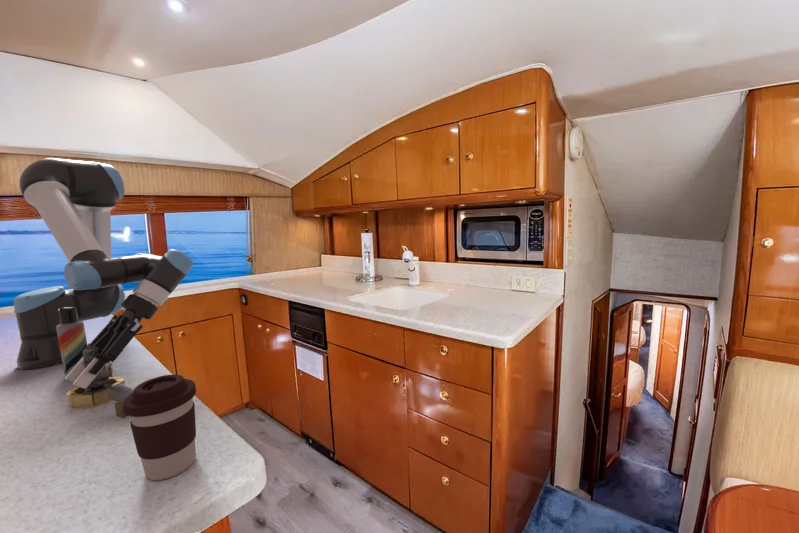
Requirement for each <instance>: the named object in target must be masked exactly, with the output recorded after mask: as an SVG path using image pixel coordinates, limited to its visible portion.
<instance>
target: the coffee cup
mask: <svg viewBox="0 0 799 533" xmlns="http://www.w3.org/2000/svg"><path fill="white" fill-rule="evenodd" d="M133 389H134V391H133V393H132V394H130V395H129V396H127V397H126V398H125V400H124V401H123V410H124V413H125V414H126V415H128V416H127V417H129V418H130V421H129V426H130V428H131V433H132V437H133V440H134V444H135V447H136V452H137V456H138V457H139V458H140V461H141V465H142V469H143V472H144V475H145V477H146V478H147V479H149V480H152V481H162V480H163V481H164V480H166V479H171V478H174V477H176V476H178V475H180V474H181V473H183V472H185V471H186V470H187V469H188V468H190V466H191V465H193V463H194V461H195V460H196V455H197V454H196V451H197V450H196V435H197V429H196V428H197V427H196V425H197V424H196V411H195V410H196V407H195V406H196V405H195V402H194V397H195V395H196V393H197V388H196V383H195V381H193V380H191V379H187V378H184V376H183V375H182V374H164V375H159V376H156V377H153V378H149V379H148V380H145V381H143V382H141V383H139V384H138V385H136V386H135V387H134V388H133Z"/></svg>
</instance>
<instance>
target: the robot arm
mask: <svg viewBox="0 0 799 533" xmlns="http://www.w3.org/2000/svg"><path fill="white" fill-rule="evenodd" d="M18 182H19V189H20V193H21V194H22V197H23V198H24V200H25V202H27V203H28V204H30V205H32V206H33V207H35V208H36V210H37V212H38V213H39V215H40V217H41V219H42V220H43V221H44V223H45V225H46V227H47V228H48V230H49V231H50V233H51V234H52V236H53V239H55V241H56V243H57V244H58V246H59V248H60V249H61V251H62V253H63V255H64V256H65V257H66V259H67V261H68V263H66V264H65V266H64V269H63V272H64V273H63V274H64V278H65V282H66V284H67V286H68V287H69V288H65V287H64V286H62V285H54V286H50V287H44V288H39V289H38V288H37V289H34V290H29V291H27V292H24V293H21V294H18V295H17V296H16V297H15V298H14V299H13V306H14V307H13V308H14V313H15V316H16V322H17V328H18V331H19V337H20V347H19V351H18V354H17V358H16V365H17V366H16V367H17V369H19V370H35V369H41V368H46V367H52V366H55V365H59V364H63V362H62V357H61V351H60V346H59V340H58V335H57V329H56V326H57V325H59V324H60V319H59V313H58V310H59V308H64V307H75V308H77V314H78V320H79V321H83V322H84V321H90V320H95V319H98V318H105V317H108V316H110V315H113V316H112V317H111V319H110V320H109V321H108V323H107V324H106V325H105V326H104V327H103V328H102V329H101V331H100V332H99V333H98V334H97V335H96V337H94V339H93V340H92V341H91V342H90V344H91V346H94V347H97V348H98V352H99V355H95V356H94V357H95V358H94V359H93V360H92V361H91V363H90V364H89V365H88V366H87V367H86V368H85V366H84V365H83V364H82V363H83V362H84V358H82V359H81V360H80V361H79V362H78V363H77V365H76V366H75V367H74V368H73V369H72V370H71V371H70V373H69V374H68V375H67V376H65V377H64V379H65V380H68V381H70V382H72V385H73V386H75V387H76V386H78V387H81V388H84V389H86V388H87V387H88V385H89V384H90V383H91V382H92V381H93V379H94V378H95V377H96V376H97V375H98V373H99V372H100V371H101V370H102V369H103V367H104V366H105V365H106V364H107V363H109V364H110V363H114V362H115V361H116V359H118V358H119V356H120V354H122V352H123V351H124V349H126V347H127V346H128V345H129V343H131V341H132V339H134V337H135V336H136V334H138V332H139V331H141V329H143V327H144V326H143V325H142V324H140V323H141V321H142V319H145V320H150V319H152V318H153V316H154V315H155V314H156V313H157V312H158V310H159V307H161V306H162V305H163V304H164V303H165V302H166V301H168V300H169V296H170V295H171V294H172V293H173V292H174V291H175V289H176V288H177V287H178V286H179V284H181V282H182V281H183V280H184V279H185V278H186V277H187V275H188V274H189V272H190V271H191V269H192V268H193V267H194V261H193V259H192V258H190V257H189V256H188V255H187V254H186V253H184V252H182V251H180V250H178V249H174V248H171V249H169V250H168V251H166V253H164V254H163V255H156V254H153V253H149V252H139V253H135V254H133V255H128V256H127V255H126V256H118V257H112V236H111V234H112V232H111V230H112V228H111V225H112V224H111V222H112V221H111V218H112V217H111V211H112V210H113V209H114V208H116V207H117V201H120V200H122V199H124V195H125V192H126V190H125V184H124V180H123V178H122V175H121V173H120V172H119V170H117V168H115V167H114V166H113V165H111V164H109V163H103V162H102V163H101V162H98V161H85V160H77V159H76V160H74V159H64V158H57V157H56V158H55V157H54V158H53V157H47V158H42V159H41V158H40V159H39V160H35V161H34V162H32V163H30V164H28V165H27V167H26V168H25V169H24V170H23V171H22V173H21V174H20V177H19V181H18ZM137 282H138V284H137V285H136V286H135V287H134V288H133V290H132V293H131V294H129V295H128V296H127V297H126V294H125V292H124V287H123V285H126V284H133V283H137ZM122 309H124V310H125V311H123V312H122V313H121V314H119V315H115V314H117V313H119V312H120V311H121V310H122ZM87 347H88V346H87ZM96 358H97V359H96Z"/></svg>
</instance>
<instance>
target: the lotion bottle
mask: <svg viewBox="0 0 799 533" xmlns="http://www.w3.org/2000/svg"><path fill="white" fill-rule="evenodd" d="M58 313H59V319H60V324H59V325H57V326H56V329H57V335H58V340H59V346H60V351H61V357H62V362H63V363H62V366H63V367H62V368H63V371H64V372H63V373H64V376H65V377H66V376H67V375H68V374H69V373H70V371H71V370H72V369H73V368H74V367H75V366H76V365H77V363H78V362H79V361H80V360H81V359H82V358H83V350H84V349H85V348H87V346H88V341H87V335H86V329H85V324H84V321H79V320H78V314H77V308H75V307H64V308H59V310H58Z"/></svg>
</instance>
